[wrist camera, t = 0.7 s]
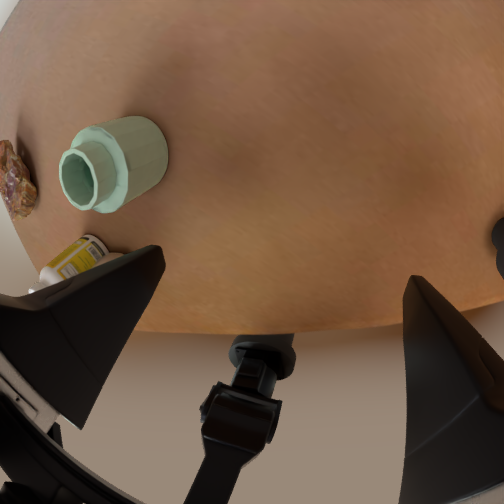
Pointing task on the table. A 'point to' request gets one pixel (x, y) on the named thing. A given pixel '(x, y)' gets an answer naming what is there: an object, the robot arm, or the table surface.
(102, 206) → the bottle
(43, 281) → the pill bottle
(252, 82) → the table surface
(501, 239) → the stopper
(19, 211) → the mineral specimen
